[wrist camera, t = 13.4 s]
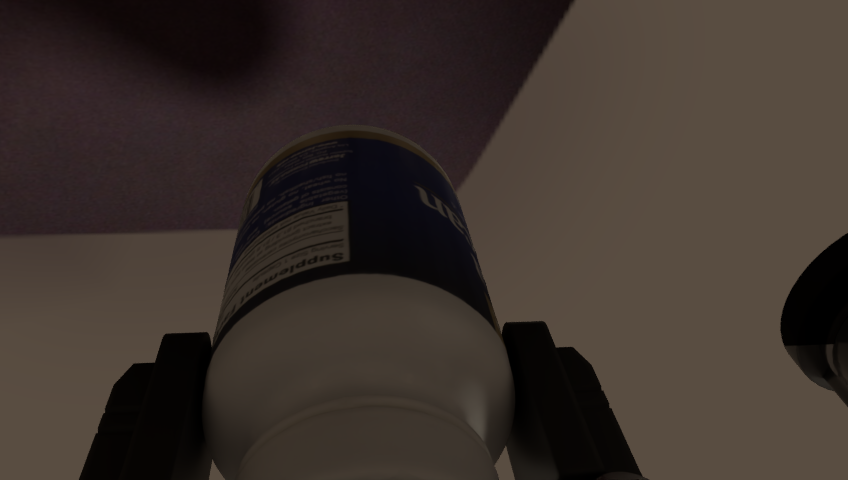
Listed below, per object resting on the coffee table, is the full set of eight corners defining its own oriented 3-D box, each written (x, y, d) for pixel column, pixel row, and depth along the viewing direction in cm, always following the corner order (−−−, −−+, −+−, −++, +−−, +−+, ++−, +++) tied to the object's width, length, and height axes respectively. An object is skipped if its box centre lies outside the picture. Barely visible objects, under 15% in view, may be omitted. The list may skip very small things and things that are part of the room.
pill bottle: (494, 238, 19) (622, 585, 10) (328, 331, 20) (325, 713, 11) (384, 74, 16) (439, 368, 8) (198, 192, 17) (72, 561, 9)
